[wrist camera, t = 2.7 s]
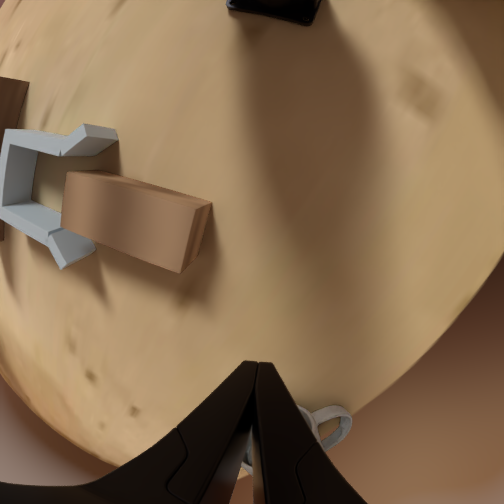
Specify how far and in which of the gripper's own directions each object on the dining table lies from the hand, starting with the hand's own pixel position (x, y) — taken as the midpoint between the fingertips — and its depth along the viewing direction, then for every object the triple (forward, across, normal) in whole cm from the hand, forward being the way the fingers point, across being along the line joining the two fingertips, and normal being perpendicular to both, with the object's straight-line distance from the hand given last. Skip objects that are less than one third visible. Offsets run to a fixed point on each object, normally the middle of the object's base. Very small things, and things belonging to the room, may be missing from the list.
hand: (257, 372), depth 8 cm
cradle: (+12, +18, -6) cm, 23 cm away
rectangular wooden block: (+12, +10, -3) cm, 16 cm away
